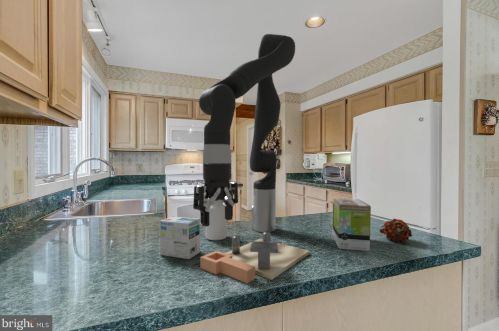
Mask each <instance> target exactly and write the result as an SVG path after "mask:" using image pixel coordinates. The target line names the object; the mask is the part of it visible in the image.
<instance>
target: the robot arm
mask: <svg viewBox="0 0 499 331" xmlns="http://www.w3.org/2000/svg"><path fill="white" fill-rule="evenodd" d="M257 53H258V55H257V58H256V59H253V60H250V61H247V62H244V63H242V64H240V65H239V66H238V67H235V69H234V70H233V71H231V72H230V73H229V74H227V75H226V76H225V77H223V79H221V80H219V81H218V82H216V83H214V84H213V85H211V86H210V87H208V88H206V89H205V90H204V91H203V92H202V93H201V94H200V96H199V100H198V105H199V108H200V110H201V111H202V112H203V113H204V114H206V116H210V119H209V120H208V122H207V123H206V124H205V125H204V128H203V151H202V179H203V180H204V185H198V184H195V185H194V187H193V202H192V203H193V205H192V206H193V209H194V210H197V211H199V212H200V213H199V214H200V215H199V216H200V218H199V219H200V225H202V227H205V228H206V227H207V226H209V212H208V211H209V209H210V207H211V205H212V204H214V202H215V201H218V200H222V201H223V205H225V219H226V220H227V221H231V220H233V216H234V213H233V212H234V206H235V204H238V203H239V191H238V190H239V189H238V187H239V185H238V182H233V181H232V182H231V181H230V180H232V150H231V127H232V124H233V120H234V116H235V115H234V114H235V112H236V110H235V109H236V100H237V99H239V98H241V97H243V96H245V94H247V93H248V92H249V91H250V90H251V89H252V88H253V87H255V86H256V85H257V91H256V100H255V102H256V103H255V111H254V121H253V122H254V125H253V126H254V127H253V138H252V143H251V144H252V145H251V149H250V155H249V169H250V171H251V172H252V173H266V175H265V176H264V177H263V178H261V179H257V180H255V181H254V182H253V187H252V188H253V205H252V206H251V229H252V230H253V231H256V232H258V233H263V232H270V233H271V232H274V231H276V219H277V218H276V214H277V213H276V210H277V209H276V206H277V205H276V197H277V194H276V191H277V190H276V189H277V188H276V184H277V165H278V164H277V162H278V160H277V153H276V151H274V150H270V149H269V150H267V149H266V150H265V149H264V150H263V149H262V147H263V144H264V142H265V141H266V139H267V138H268V137H269V136H270V134H271V133H272V132H273V130H274V129H275V128H276V127H277V125H278V124H279V120H280V115H281V114H280V112H281V105H282V104H281V100H280V96H279V94H278V91H277V88H276V86H275V83H274V79H273V74H274V73H276V72H278V71H280V70H282V69H283V68H286V67H287V66H288V65H289V64H291V62H292V61H293V59H294V56H295V53H296V42H295V40H294V38H292V37H291V36H289V35H284V34H273V33H266V34H264V35H263V36H262V37H261V38H260V41H259V45H258V52H257Z"/></svg>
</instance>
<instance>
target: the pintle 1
mask: <svg viewBox="0 0 499 331" xmlns="http://www.w3.org/2000/svg"><path fill="white" fill-rule="evenodd" d="M240 247H241V236H240V235H238V234H235V235H232V236H231V251H232V254H234V255H237V254H240Z"/></svg>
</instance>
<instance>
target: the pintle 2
mask: <svg viewBox="0 0 499 331" xmlns="http://www.w3.org/2000/svg"><path fill="white" fill-rule="evenodd" d="M262 239H263V242H272V241H271V232H262Z"/></svg>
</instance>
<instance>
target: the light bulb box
mask: <svg viewBox="0 0 499 331" xmlns="http://www.w3.org/2000/svg"><path fill="white" fill-rule="evenodd" d="M159 240H160V242H159V243H160V244H159V245H160V246H159V248H160V249H159V250H160V252H159V254H160V256H165V257H167V256H168V257H173V258H179V259H185V260H190V259H192V258H193V257H195V256H196V255H199V253H201V251H202V250H201V249H202V248H201V247H202V246H201V222H200V218H196V217H193V218H192V217H184V216H183V217H182V216H181V217H180V216H170V217H167V218H164V219H160V220H159Z"/></svg>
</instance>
